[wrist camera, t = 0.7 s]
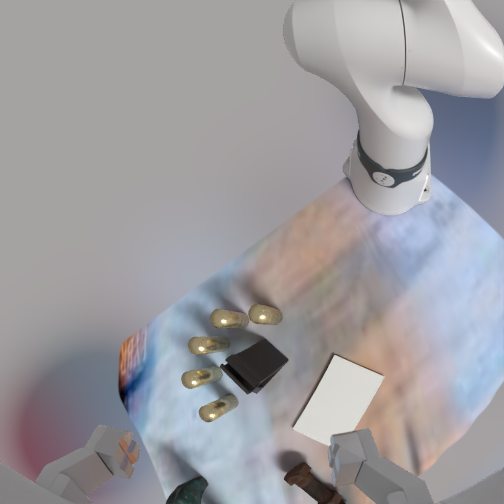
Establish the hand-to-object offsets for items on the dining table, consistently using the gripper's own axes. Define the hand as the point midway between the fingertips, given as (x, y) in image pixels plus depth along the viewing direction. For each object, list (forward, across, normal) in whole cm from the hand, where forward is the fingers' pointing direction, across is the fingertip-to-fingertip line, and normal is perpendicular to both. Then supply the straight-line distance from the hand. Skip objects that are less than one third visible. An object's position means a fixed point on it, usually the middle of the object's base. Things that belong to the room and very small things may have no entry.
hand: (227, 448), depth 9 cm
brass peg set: (+39, +5, +21) cm, 44 cm away
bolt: (+21, -10, +45) cm, 50 cm away
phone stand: (+37, 0, +23) cm, 43 cm away
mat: (+29, -13, +28) cm, 42 cm away
